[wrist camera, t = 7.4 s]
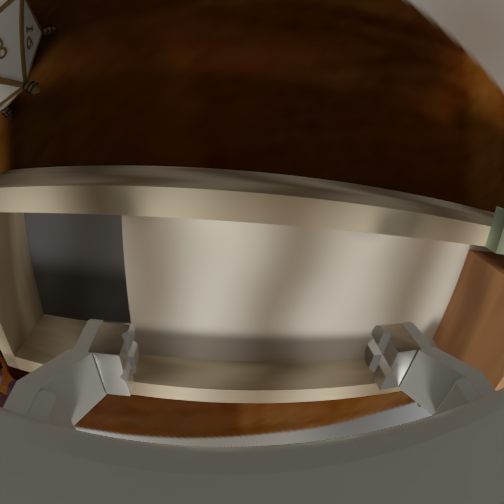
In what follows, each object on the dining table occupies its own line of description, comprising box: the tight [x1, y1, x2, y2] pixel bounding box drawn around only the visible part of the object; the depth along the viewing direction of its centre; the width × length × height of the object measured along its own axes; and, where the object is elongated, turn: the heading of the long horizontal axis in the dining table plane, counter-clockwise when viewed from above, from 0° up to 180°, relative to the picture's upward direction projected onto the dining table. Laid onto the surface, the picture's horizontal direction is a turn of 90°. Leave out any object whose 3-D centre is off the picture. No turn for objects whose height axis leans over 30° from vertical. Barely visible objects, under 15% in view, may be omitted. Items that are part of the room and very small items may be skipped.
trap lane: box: [0, 165, 504, 407], centre depth 14 cm, size 42×12×5 cm, turn 84°
